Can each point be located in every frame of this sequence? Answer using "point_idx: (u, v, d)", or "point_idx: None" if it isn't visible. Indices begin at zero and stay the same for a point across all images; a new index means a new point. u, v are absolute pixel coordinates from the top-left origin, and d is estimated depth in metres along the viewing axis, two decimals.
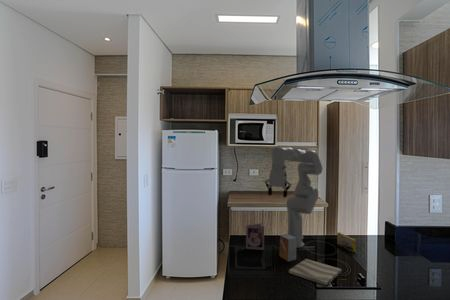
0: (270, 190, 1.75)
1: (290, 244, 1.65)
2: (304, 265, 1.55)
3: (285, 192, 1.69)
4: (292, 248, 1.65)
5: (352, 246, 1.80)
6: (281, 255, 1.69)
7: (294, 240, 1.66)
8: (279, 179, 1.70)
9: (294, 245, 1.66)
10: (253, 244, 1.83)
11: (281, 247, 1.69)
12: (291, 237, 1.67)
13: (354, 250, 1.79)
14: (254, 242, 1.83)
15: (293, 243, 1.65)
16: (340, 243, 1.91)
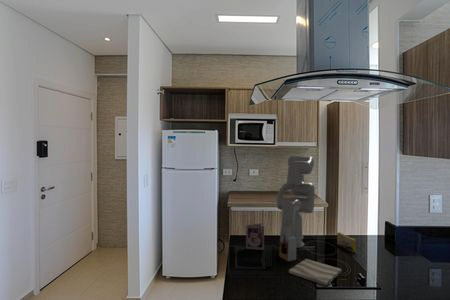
0: None
1: (290, 244, 1.65)
2: (304, 265, 1.55)
3: None
4: (292, 247, 1.65)
5: (352, 246, 1.80)
6: (281, 255, 1.69)
7: (294, 240, 1.66)
8: (293, 233, 1.69)
9: (294, 245, 1.66)
10: (253, 244, 1.83)
11: (281, 247, 1.69)
12: (291, 237, 1.67)
13: (354, 250, 1.79)
14: (254, 242, 1.83)
15: (293, 243, 1.65)
16: (340, 243, 1.91)
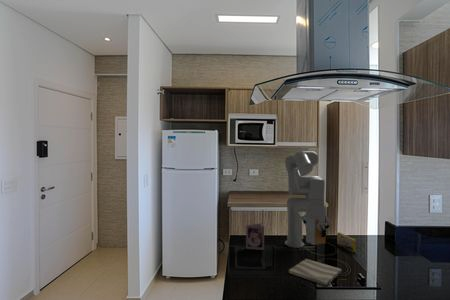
0: None
1: None
2: (304, 265, 1.55)
3: None
4: None
5: (352, 246, 1.80)
6: (317, 242, 1.47)
7: None
8: None
9: None
10: (253, 244, 1.83)
11: (317, 232, 1.47)
12: None
13: (354, 250, 1.79)
14: (254, 242, 1.83)
15: None
16: (340, 243, 1.91)
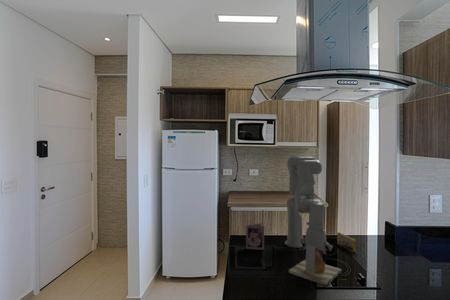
0: None
1: None
2: (304, 265, 1.55)
3: None
4: None
5: (352, 246, 1.80)
6: (317, 269, 1.47)
7: None
8: None
9: None
10: (253, 244, 1.83)
11: (317, 260, 1.47)
12: None
13: (354, 250, 1.79)
14: (254, 242, 1.83)
15: None
16: (340, 243, 1.91)
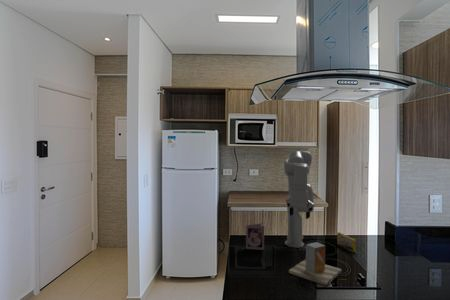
0: None
1: None
2: (304, 265, 1.55)
3: None
4: None
5: (352, 246, 1.80)
6: (317, 269, 1.47)
7: None
8: None
9: None
10: (253, 244, 1.83)
11: (317, 260, 1.47)
12: (318, 243, 1.52)
13: (354, 250, 1.79)
14: (254, 242, 1.83)
15: None
16: (340, 243, 1.91)
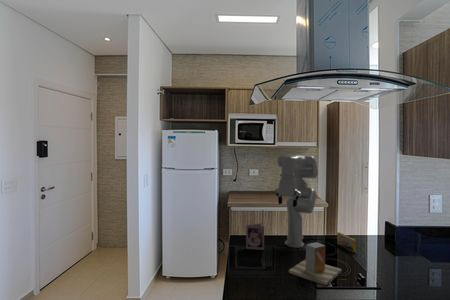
0: None
1: None
2: (304, 265, 1.55)
3: None
4: None
5: (352, 246, 1.80)
6: (317, 269, 1.47)
7: None
8: None
9: None
10: (253, 244, 1.83)
11: (317, 260, 1.47)
12: (318, 243, 1.52)
13: (354, 250, 1.79)
14: (254, 242, 1.83)
15: None
16: (340, 243, 1.91)
